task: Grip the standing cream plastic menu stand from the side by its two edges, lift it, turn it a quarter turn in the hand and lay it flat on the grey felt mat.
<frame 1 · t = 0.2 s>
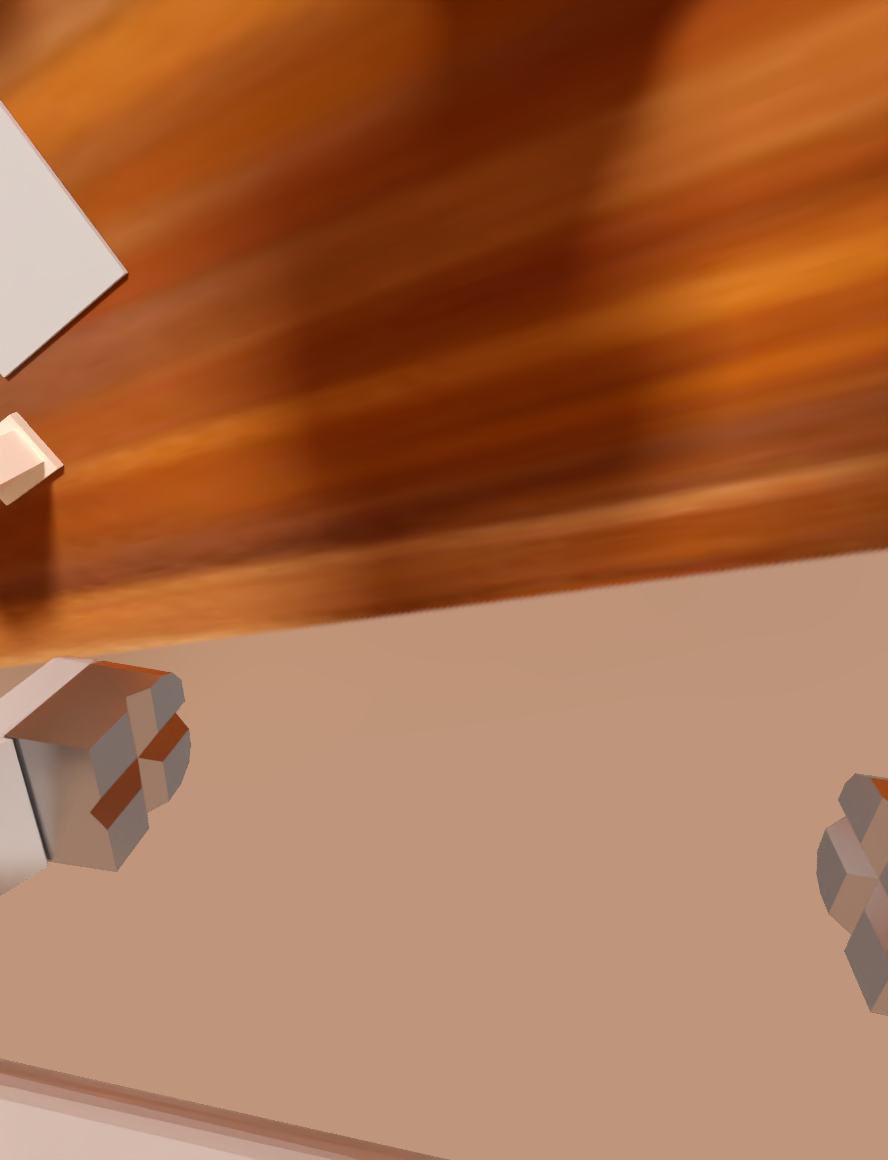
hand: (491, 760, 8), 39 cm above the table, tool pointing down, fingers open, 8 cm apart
menu stand: (15, 458, 53), on the table
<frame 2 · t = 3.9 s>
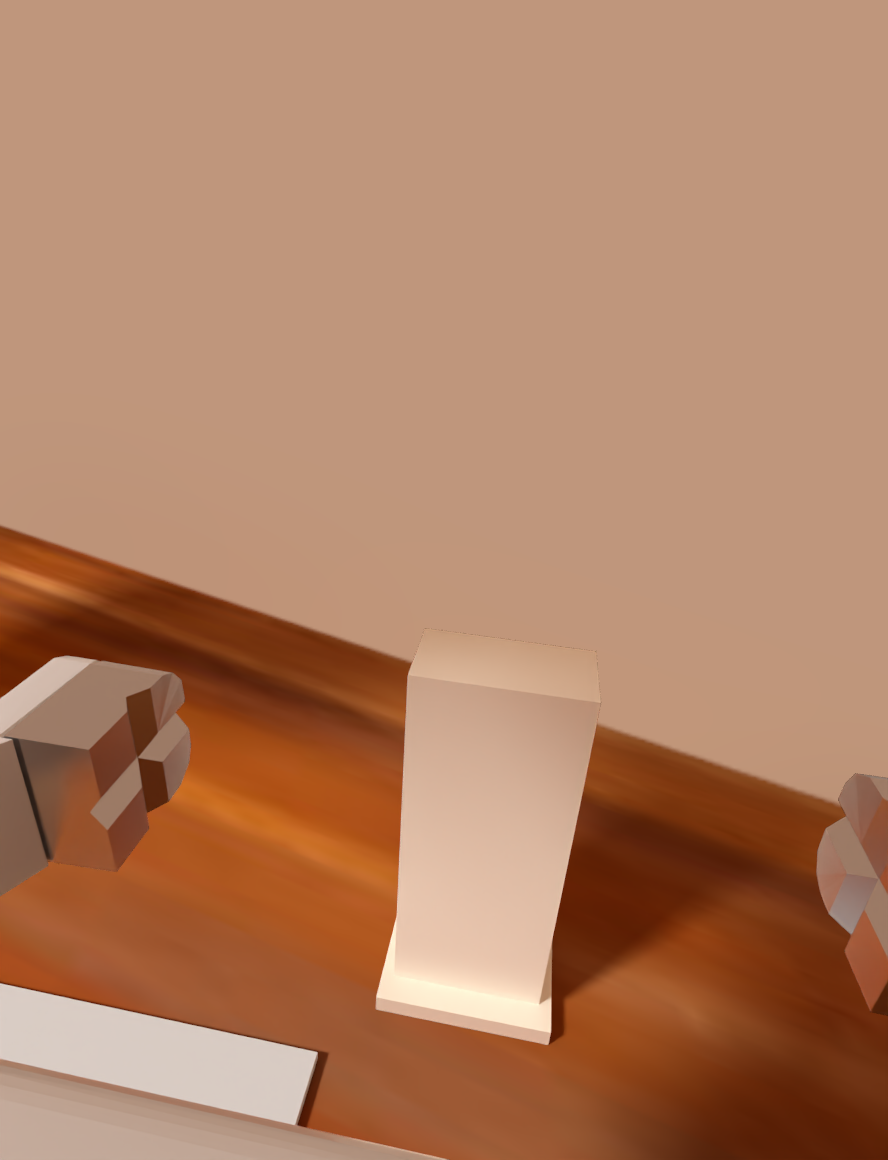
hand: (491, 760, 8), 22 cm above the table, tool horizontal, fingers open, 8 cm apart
menu stand: (468, 967, 28), on the table
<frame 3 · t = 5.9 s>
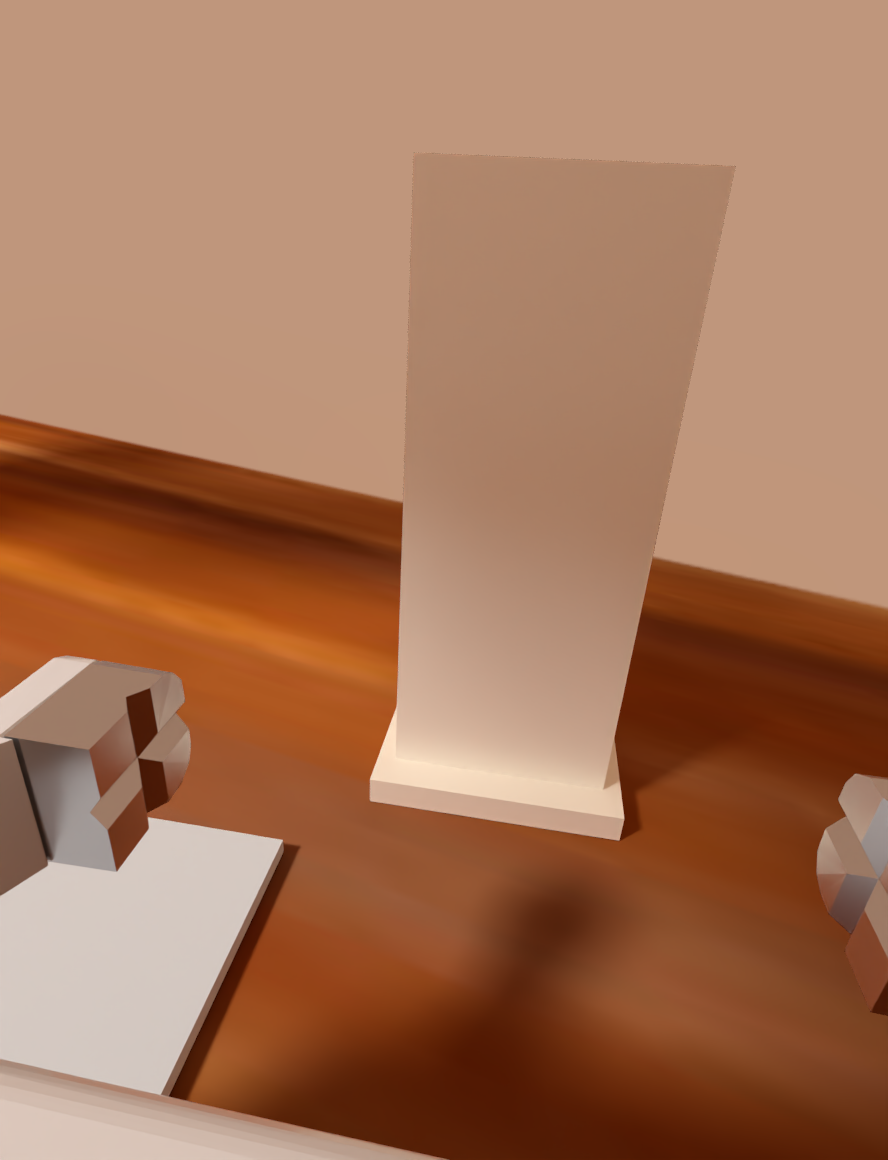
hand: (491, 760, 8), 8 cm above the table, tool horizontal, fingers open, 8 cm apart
menu stand: (498, 760, 20), on the table
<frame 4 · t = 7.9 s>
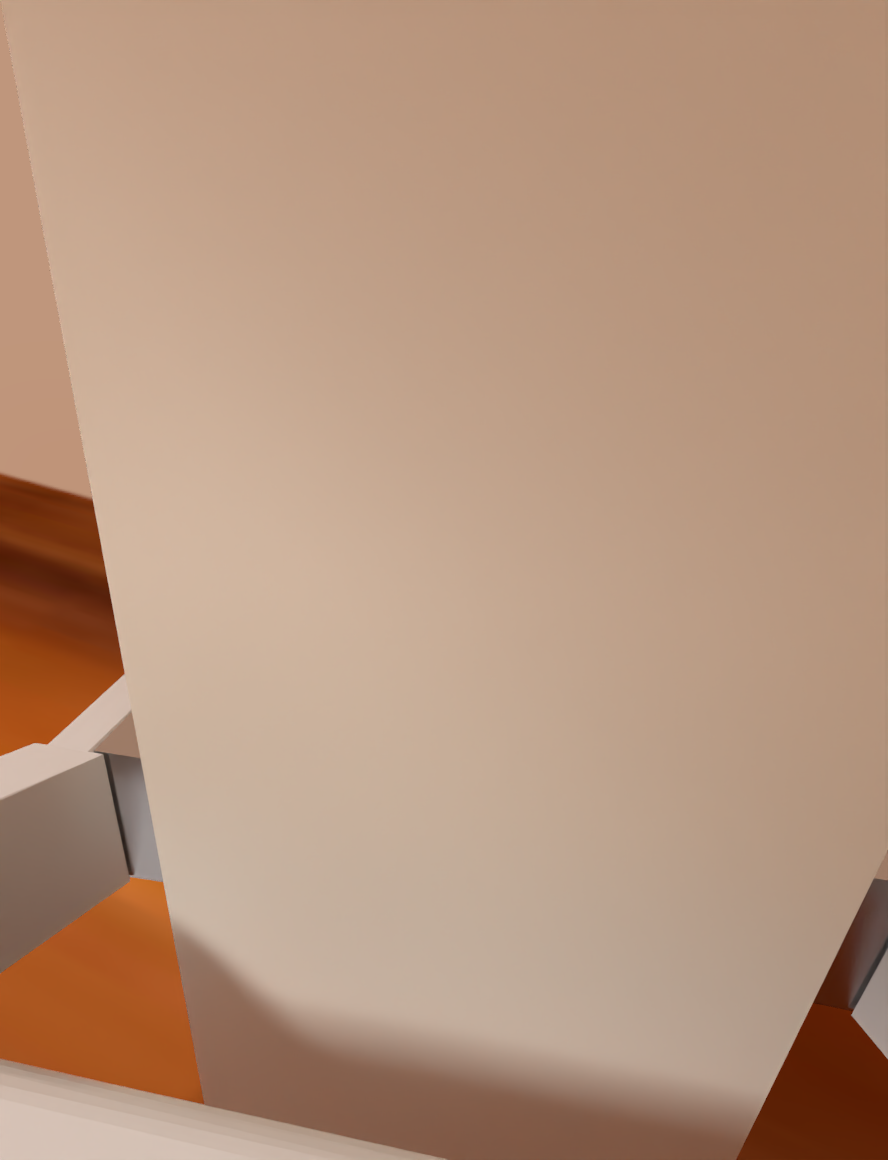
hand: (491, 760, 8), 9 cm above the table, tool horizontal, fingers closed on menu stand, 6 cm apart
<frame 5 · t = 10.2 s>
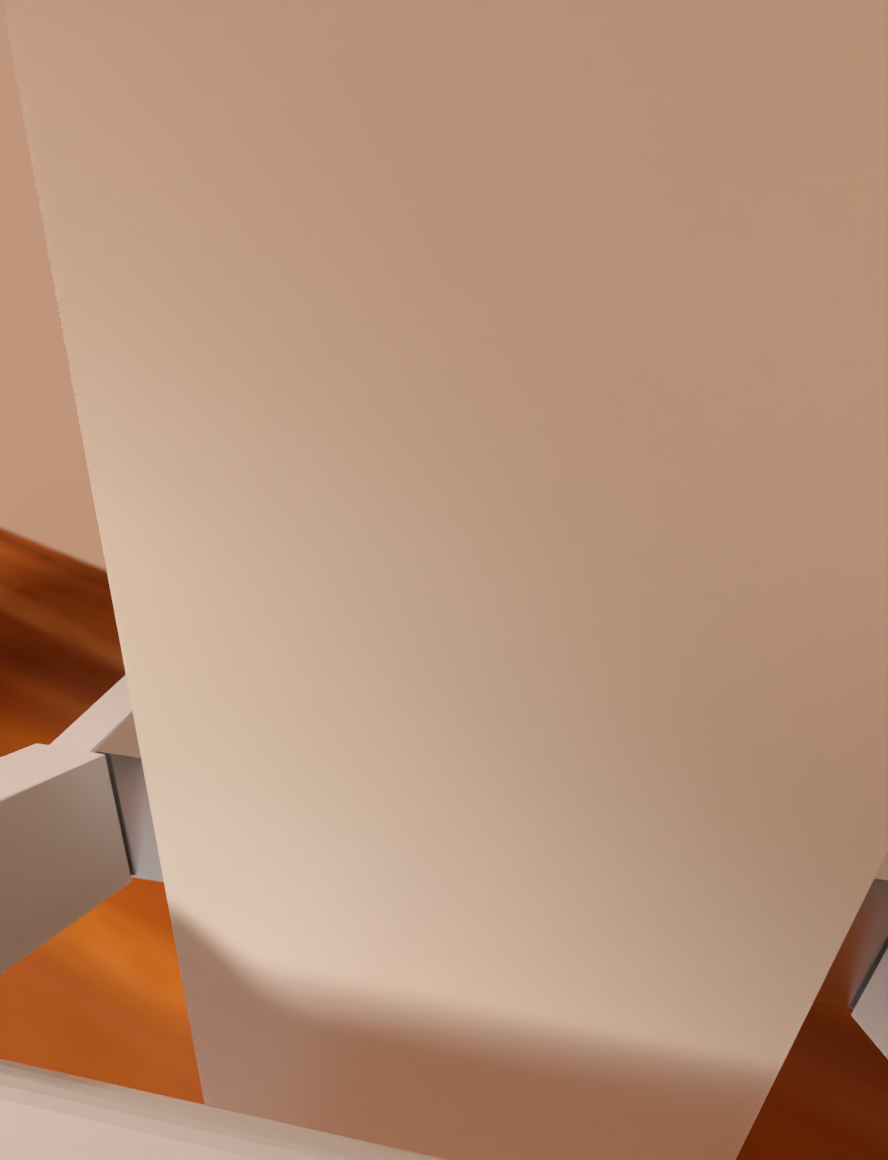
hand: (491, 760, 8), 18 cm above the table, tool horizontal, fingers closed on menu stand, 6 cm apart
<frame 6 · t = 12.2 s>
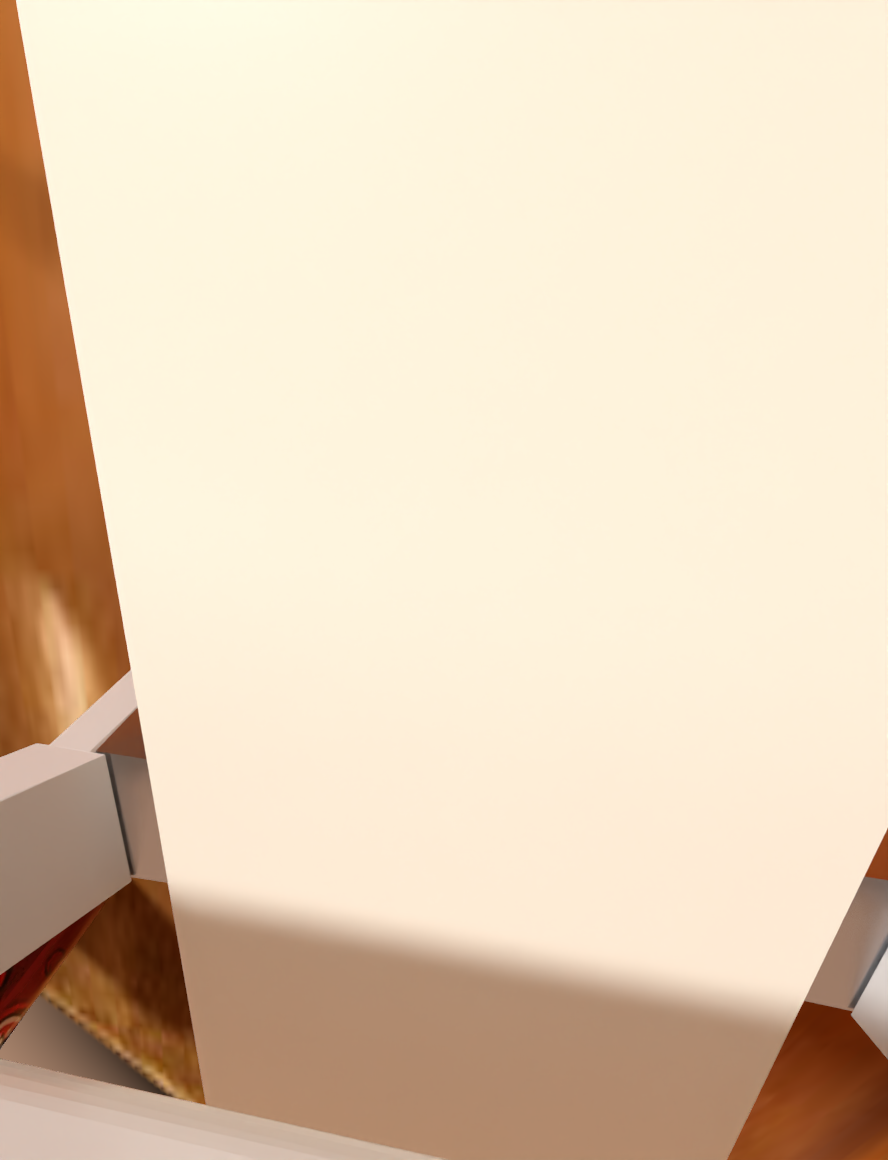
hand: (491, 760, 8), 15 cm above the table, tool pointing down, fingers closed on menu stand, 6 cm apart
soda can: (53, 857, 34), on the table
when the fingers open (4 cm above the table, at t = 15.0 s): menu stand drops 2 cm, resting on mat.
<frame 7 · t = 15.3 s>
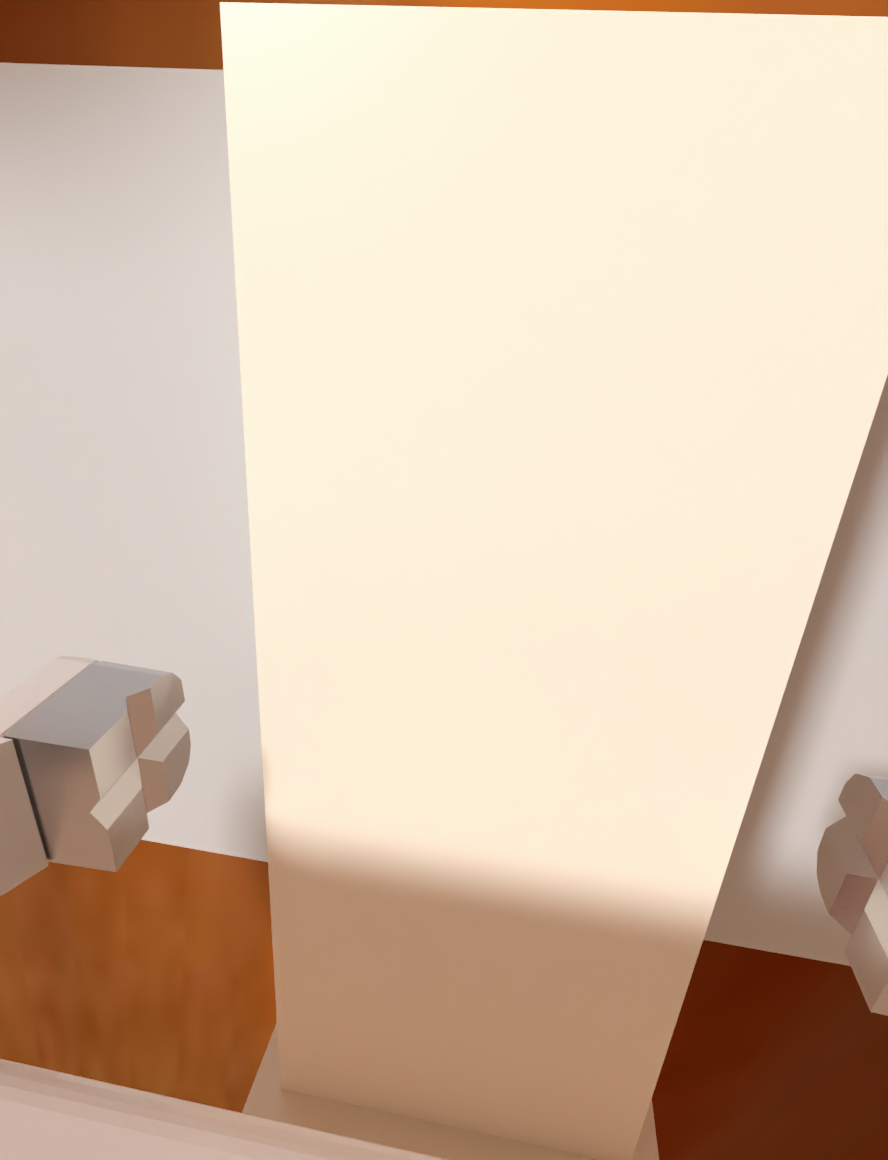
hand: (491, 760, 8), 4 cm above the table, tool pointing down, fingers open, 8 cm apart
mat: (463, 589, 11), on the table
menu stand: (458, 1061, 13), point 2 cm above the table, tilted 92°, touching mat
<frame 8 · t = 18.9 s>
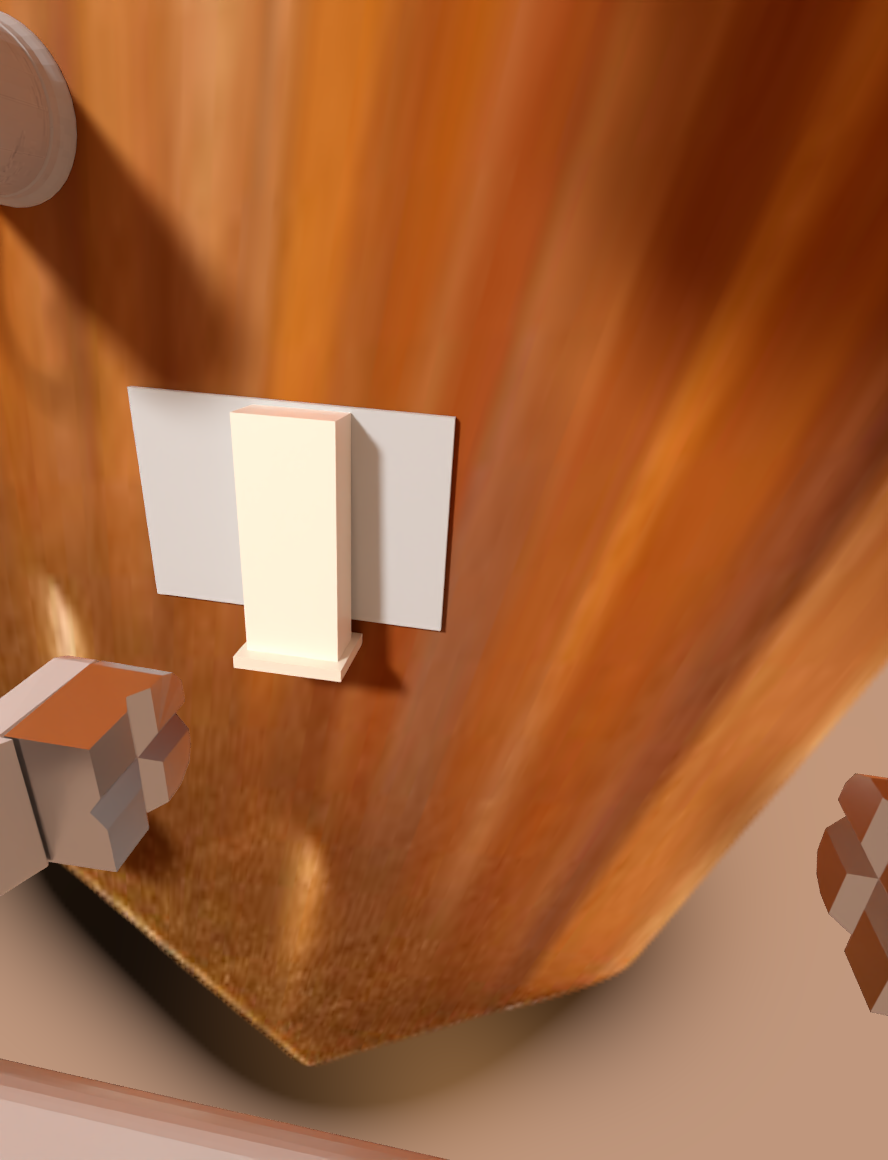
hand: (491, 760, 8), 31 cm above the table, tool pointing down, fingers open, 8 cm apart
mat: (293, 512, 42), on the table
menu stand: (300, 655, 43), point 2 cm above the table, tilted 92°, touching mat
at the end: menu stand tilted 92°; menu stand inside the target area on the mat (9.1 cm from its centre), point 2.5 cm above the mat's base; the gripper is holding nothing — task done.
